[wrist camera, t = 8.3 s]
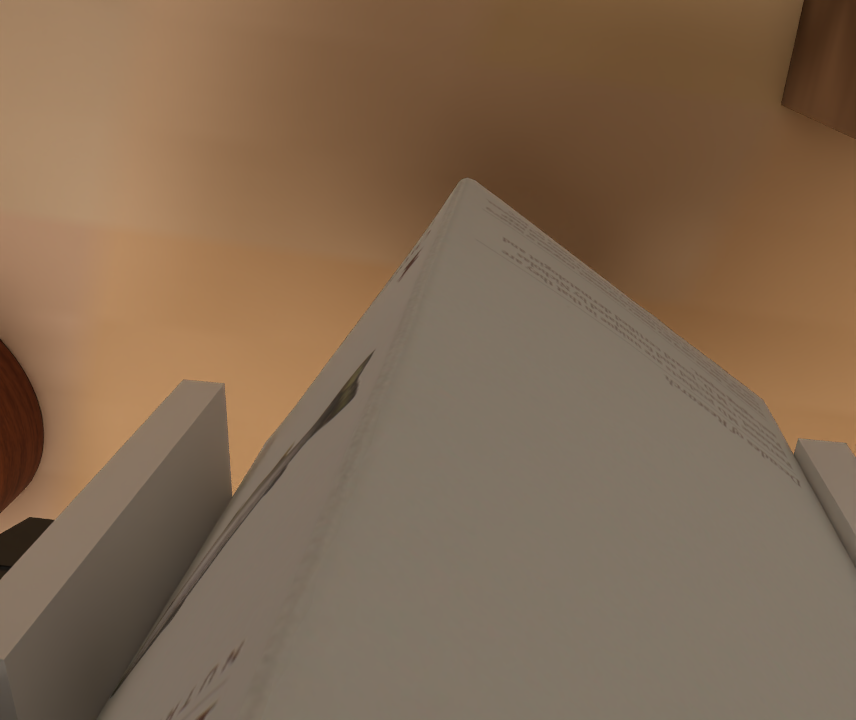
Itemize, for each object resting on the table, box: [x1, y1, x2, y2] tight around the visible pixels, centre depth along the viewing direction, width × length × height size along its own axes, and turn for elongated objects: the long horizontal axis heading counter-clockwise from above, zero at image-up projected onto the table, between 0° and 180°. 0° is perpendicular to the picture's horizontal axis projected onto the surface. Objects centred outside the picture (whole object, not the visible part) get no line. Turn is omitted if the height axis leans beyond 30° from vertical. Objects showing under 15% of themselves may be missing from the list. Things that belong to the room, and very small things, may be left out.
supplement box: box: [96, 178, 856, 720], centre depth 11 cm, size 7×7×13 cm
